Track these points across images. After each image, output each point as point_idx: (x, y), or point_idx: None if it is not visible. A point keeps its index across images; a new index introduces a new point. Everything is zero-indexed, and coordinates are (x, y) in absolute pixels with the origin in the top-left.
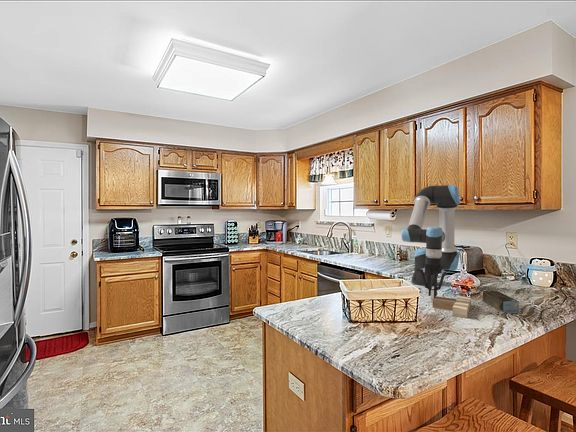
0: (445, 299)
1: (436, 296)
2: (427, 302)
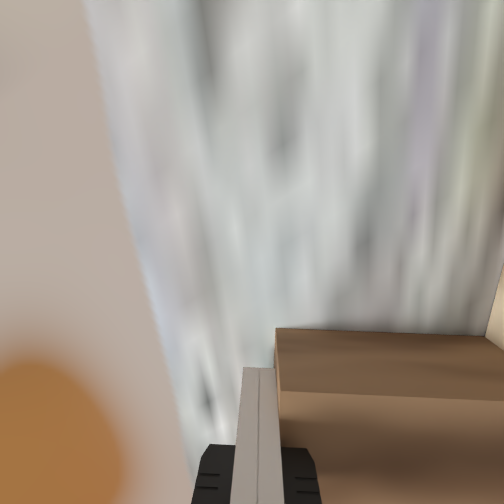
0: (421, 487)
1: (302, 404)
2: (198, 304)
